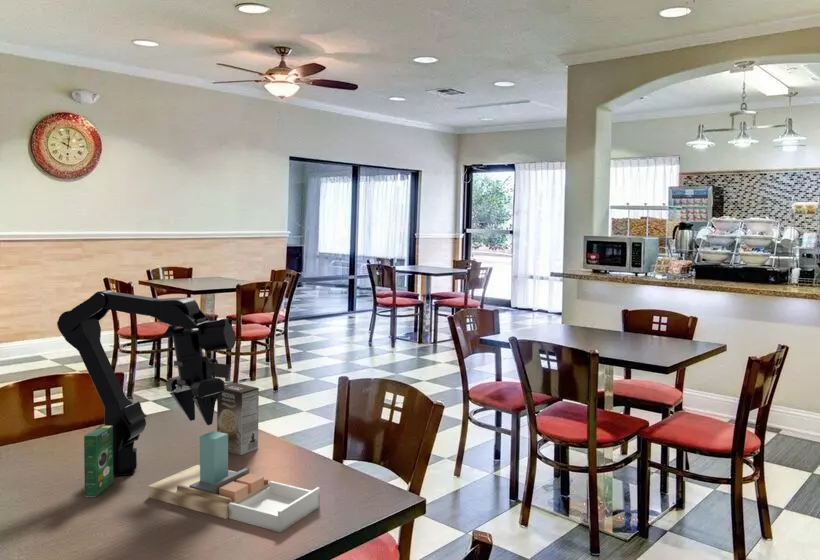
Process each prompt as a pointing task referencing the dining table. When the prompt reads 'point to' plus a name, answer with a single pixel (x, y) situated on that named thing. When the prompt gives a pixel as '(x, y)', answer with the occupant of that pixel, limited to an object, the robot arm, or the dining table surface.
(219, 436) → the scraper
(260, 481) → the tile
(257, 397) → the coffee box
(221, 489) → the tile
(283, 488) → the tray
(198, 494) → the board
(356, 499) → the dining table surface
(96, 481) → the coffee box
